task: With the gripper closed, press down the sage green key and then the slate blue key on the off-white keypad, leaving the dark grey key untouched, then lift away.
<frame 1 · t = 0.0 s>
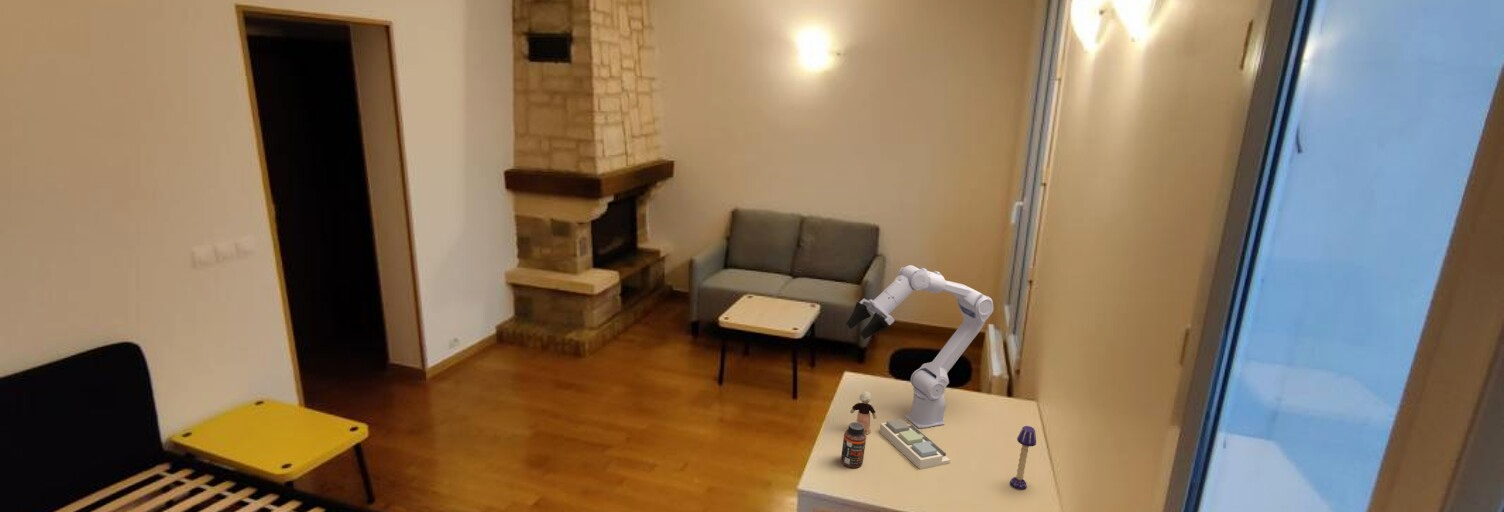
hand: (855, 331, 197), 32 cm above the table, tool tilted 50°, fingers open, 7 cm apart
sage key: (910, 437, 200), point 3 cm above the table, slide at 0.0 cm
keypad: (909, 447, 201), on the table
grey key: (897, 426, 206), point 3 cm above the table, slide at 0.0 cm
supplement bottle: (851, 463, 192), on the table
grandmother figurine: (861, 431, 208), on the table
slate key: (924, 449, 194), point 3 cm above the table, slide at 0.0 cm
toy lamp: (1018, 485, 187), on the table
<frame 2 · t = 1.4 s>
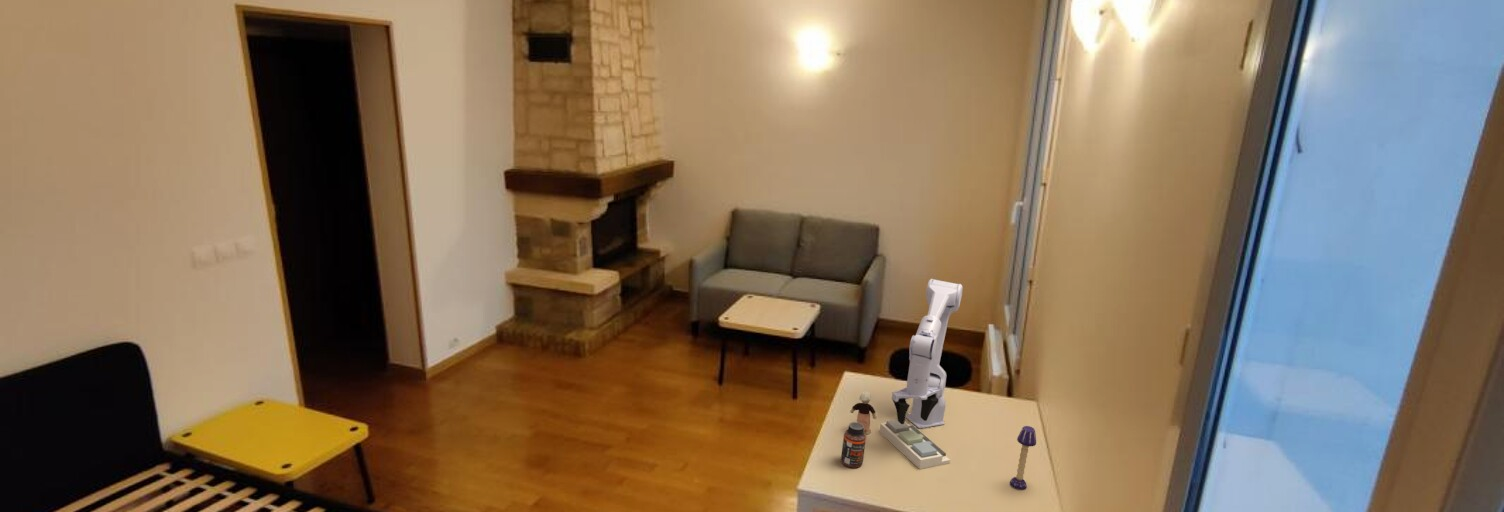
hand: (912, 420, 198), 9 cm above the table, tool pointing down, fingers open, 7 cm apart
nothing on the table moved.
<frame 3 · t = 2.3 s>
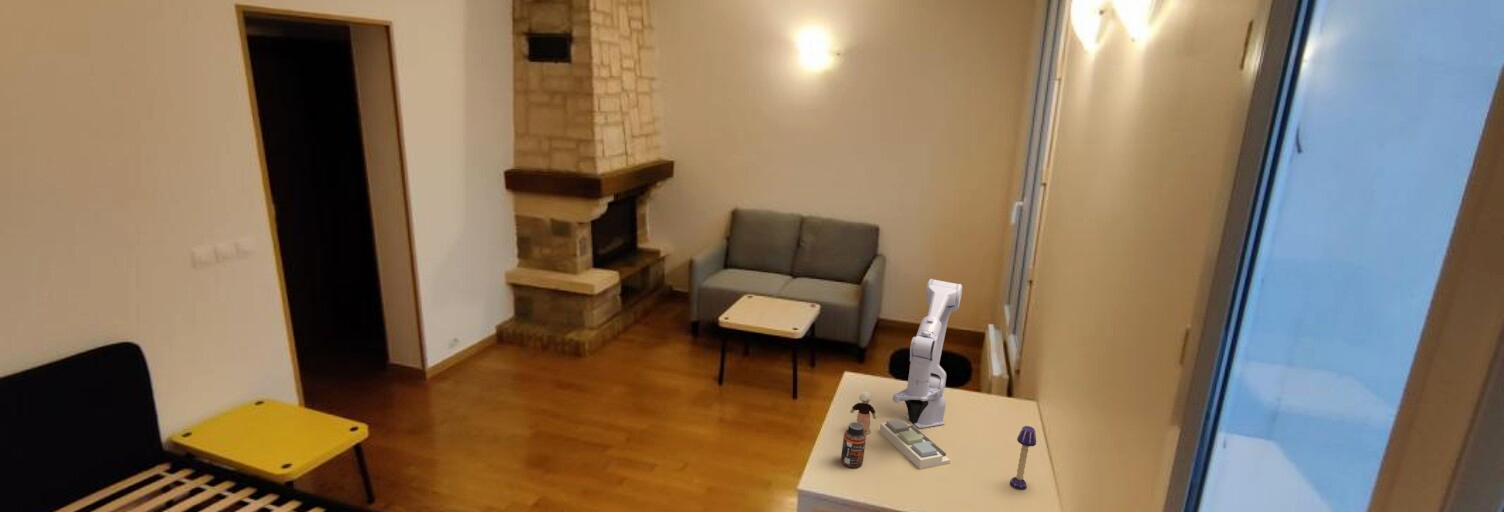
hand: (912, 421, 199), 8 cm above the table, tool pointing down, fingers closed
nothing on the table moved.
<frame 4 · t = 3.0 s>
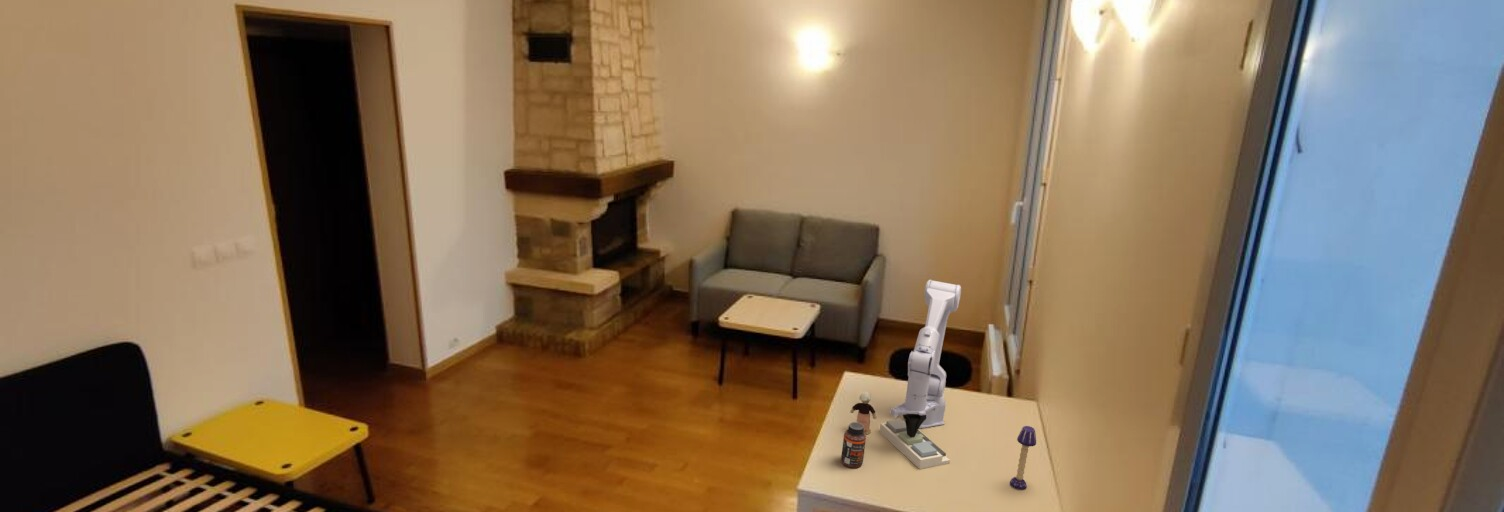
hand: (910, 435, 200), 4 cm above the table, tool pointing down, fingers closed, pressing on sage key
sage key: (910, 437, 200), point 3 cm above the table, slide at 0.0 cm, touching gripper
everything else where it was.
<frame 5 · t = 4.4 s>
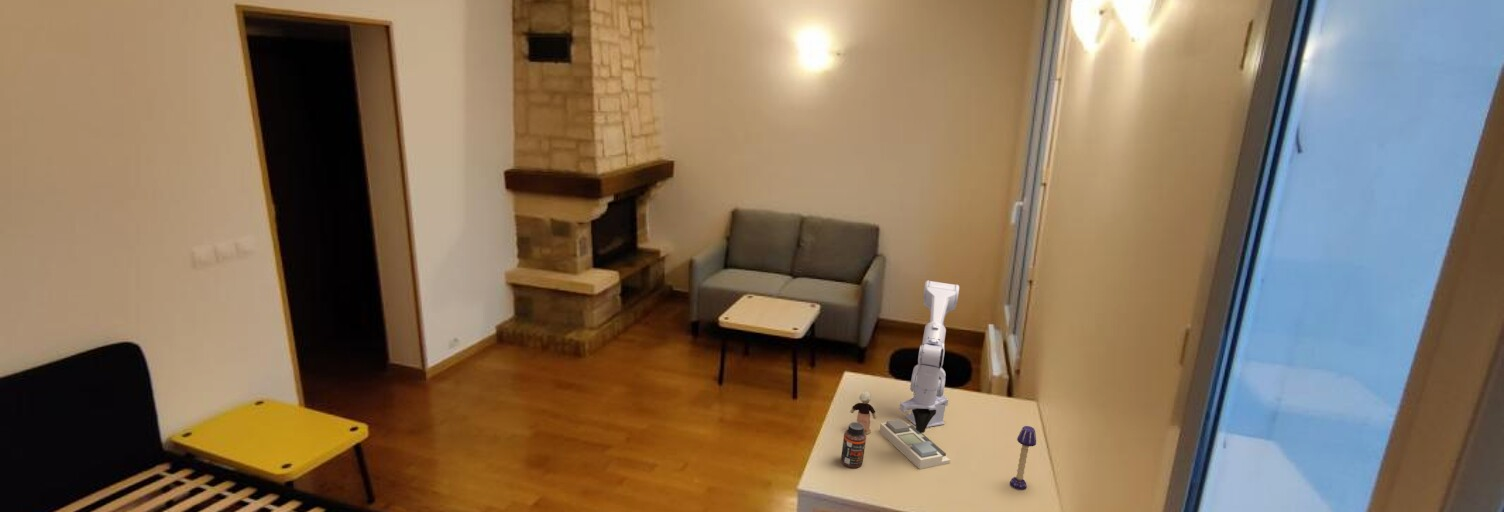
hand: (920, 430, 195), 8 cm above the table, tool pointing down, fingers closed
sage key: (910, 441, 200), point 2 cm above the table, slide at 1.3 cm
everything else where it was.
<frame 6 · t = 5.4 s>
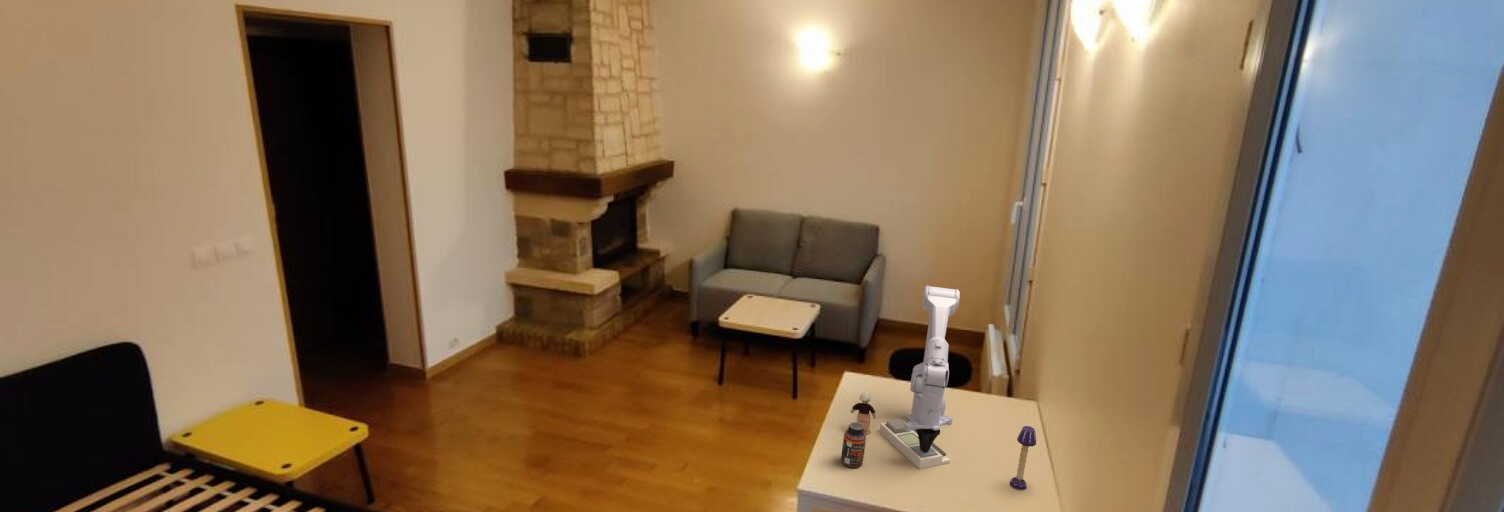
hand: (924, 450, 194), 3 cm above the table, tool pointing down, fingers closed, pressing on slate key
slate key: (923, 452, 194), point 2 cm above the table, slide at 1.0 cm, touching gripper
everything else where it was.
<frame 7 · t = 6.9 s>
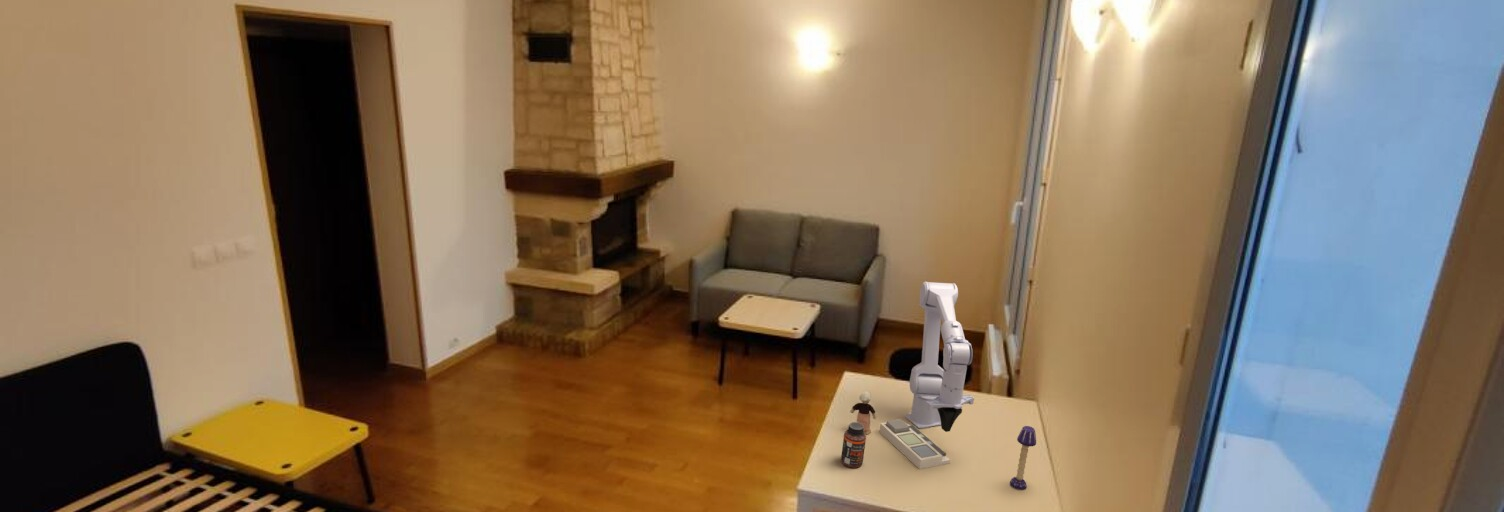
hand: (945, 429, 193), 9 cm above the table, tool pointing down, fingers closed
slate key: (923, 453, 195), point 2 cm above the table, slide at 1.3 cm
everything else where it was.
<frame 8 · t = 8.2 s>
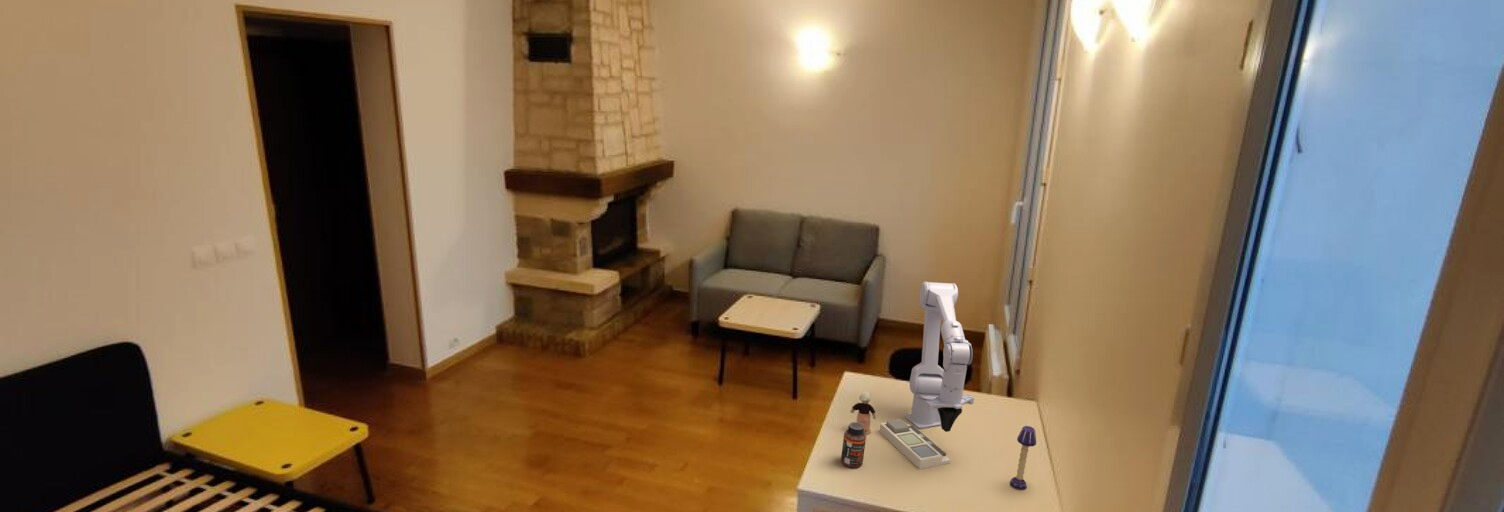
hand: (945, 429, 193), 9 cm above the table, tool pointing down, fingers closed
nothing on the table moved.
at the end: sage key slide at 1.3 cm; slate key slide at 1.3 cm; grey key slide at 0.0 cm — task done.
